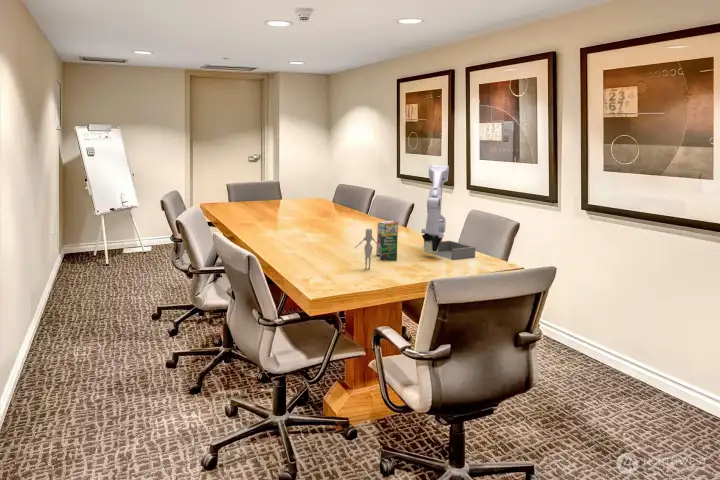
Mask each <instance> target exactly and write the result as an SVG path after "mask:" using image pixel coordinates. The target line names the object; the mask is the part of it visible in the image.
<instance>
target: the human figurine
mask: <svg viewBox="0 0 720 480" xmlns="http://www.w3.org/2000/svg"><path fill="white" fill-rule="evenodd" d="M364 241H366V243H365V245H364V249H363V250H364V255H365V257H364V259H365V263H364V264H365V265H364V266H365V268H364V269H365V270H367V269H368V270H371V260H372V258H371V256H372V251H373V245H372V244H371V242H372V241H373V242H375V244H376V246H377V245H379V244H378V243H377V240H375V238H374V237H373V229H372V228H366V229H365V236H364V238H363V239H362V240H361V241H359V243H358V244H357V245H356V246H355V247H354V249H357V247H359V246H360V245H361V244H362V243H363V242H364ZM379 246H380V245H379ZM380 247H381V246H380ZM367 265H368V268H367Z"/></svg>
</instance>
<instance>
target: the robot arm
mask: <svg viewBox="0 0 720 480" xmlns="http://www.w3.org/2000/svg"><path fill="white" fill-rule="evenodd" d="M449 169H450V166H449V165H448V164H445V165H444V164H443V165H442V164H432V163H431V164H430V165H429V166H428V177H429V178H428V179H429V181H430V182H432V185H431V186H430V189H429V192H428V193H429V194H428V197H427V200H426V213H427V216H426V221H425V228H421V234H422V235H421V237H422V239H423V247H421V248H422V249H425V241H432V250H433V251H437V249H438V246H439V243H440V242H441V241H443V238H444V233H445V232H446V226H447V225H446V223H447V222H446V218H445V215H443V214H442V212H441V211H442V199H443V187H444V183H447V182H448V179H449V172H450V171H449Z"/></svg>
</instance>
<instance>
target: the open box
mask: <svg viewBox="0 0 720 480" xmlns="http://www.w3.org/2000/svg"><path fill="white" fill-rule="evenodd" d="M430 254H433V255H436V256H438V257H442V258H445V259H449V260H451V261H455V260H464V259H472V258H473V259H474V258H476V247H475V246H472V245H467V244H464V243H460V242H457V241H452V240H442V241H441V242H440V243H439V246H438V252H437V253H430Z"/></svg>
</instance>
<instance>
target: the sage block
mask: <svg viewBox="0 0 720 480" xmlns="http://www.w3.org/2000/svg"><path fill="white" fill-rule="evenodd" d="M424 252H425V253H429V254H431V253H437V252H438V249H437V251H433V250H432V241H425V248H424Z"/></svg>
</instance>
